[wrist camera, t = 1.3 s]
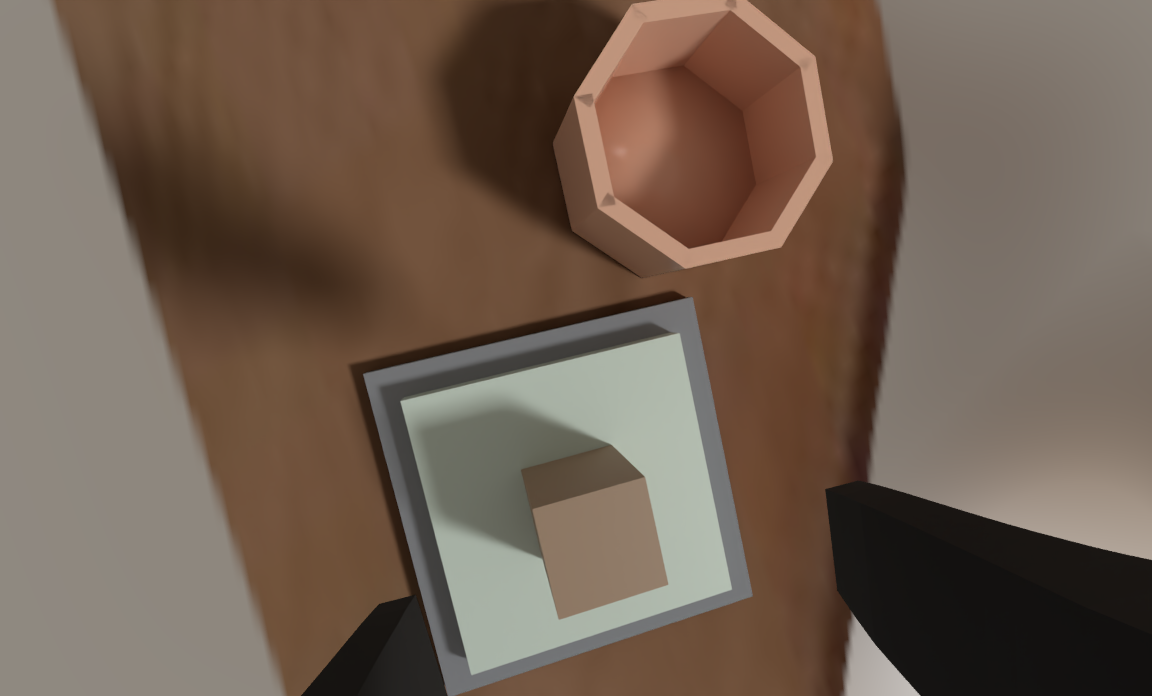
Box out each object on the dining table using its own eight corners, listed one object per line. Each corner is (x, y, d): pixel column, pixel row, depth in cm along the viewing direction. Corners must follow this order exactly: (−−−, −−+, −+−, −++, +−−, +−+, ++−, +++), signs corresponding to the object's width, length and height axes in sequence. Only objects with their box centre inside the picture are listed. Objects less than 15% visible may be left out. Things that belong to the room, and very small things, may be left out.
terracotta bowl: (772, 248, 20) (845, 232, 16) (584, 290, 19) (614, 284, 15) (735, 48, 19) (802, -20, 15) (538, 79, 18) (555, 14, 14)
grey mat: (746, 589, 20) (752, 596, 20) (449, 687, 19) (448, 697, 18) (687, 297, 19) (692, 296, 19) (366, 372, 18) (363, 373, 17)
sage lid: (721, 578, 20) (791, 653, 15) (471, 659, 18) (470, 766, 14) (671, 332, 19) (729, 337, 14) (403, 397, 17) (380, 424, 13)
